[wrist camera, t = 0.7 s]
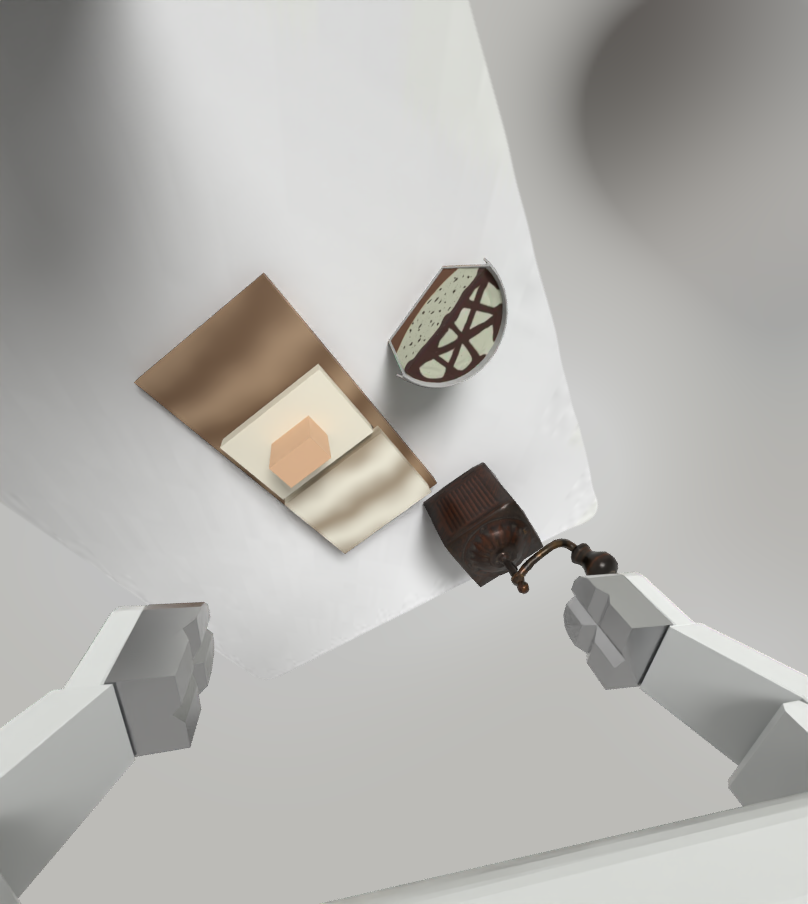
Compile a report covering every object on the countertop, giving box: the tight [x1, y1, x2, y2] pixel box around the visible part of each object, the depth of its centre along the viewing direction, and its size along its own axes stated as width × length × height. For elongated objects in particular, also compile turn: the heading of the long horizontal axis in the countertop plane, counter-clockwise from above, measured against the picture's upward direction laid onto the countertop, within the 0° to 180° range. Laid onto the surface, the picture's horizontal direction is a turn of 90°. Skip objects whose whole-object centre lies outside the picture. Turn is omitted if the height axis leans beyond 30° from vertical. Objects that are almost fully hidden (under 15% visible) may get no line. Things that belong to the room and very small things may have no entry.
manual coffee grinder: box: [424, 463, 618, 594], centre depth 49 cm, size 16×11×18 cm
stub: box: [220, 364, 373, 499], centre depth 40 cm, size 9×13×7 cm
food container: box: [388, 258, 508, 388], centre depth 38 cm, size 12×6×10 cm, turn 141°
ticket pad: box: [134, 273, 437, 554], centre depth 44 cm, size 31×16×4 cm, turn 34°
